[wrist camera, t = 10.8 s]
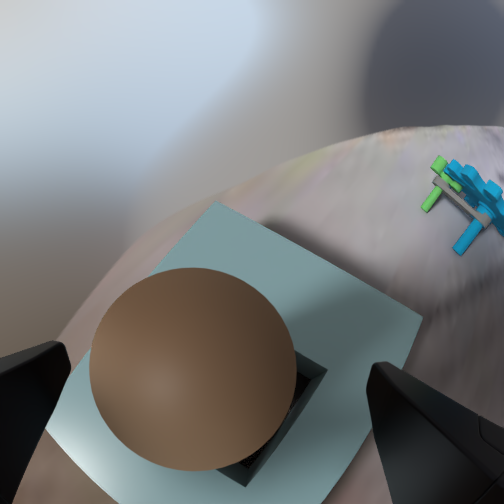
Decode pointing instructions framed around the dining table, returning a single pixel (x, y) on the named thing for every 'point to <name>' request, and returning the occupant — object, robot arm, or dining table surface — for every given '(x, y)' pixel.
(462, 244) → the gear
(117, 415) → the peg
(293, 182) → the dining table surface
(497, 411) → the dining table surface
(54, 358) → the robot arm
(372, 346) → the housing
